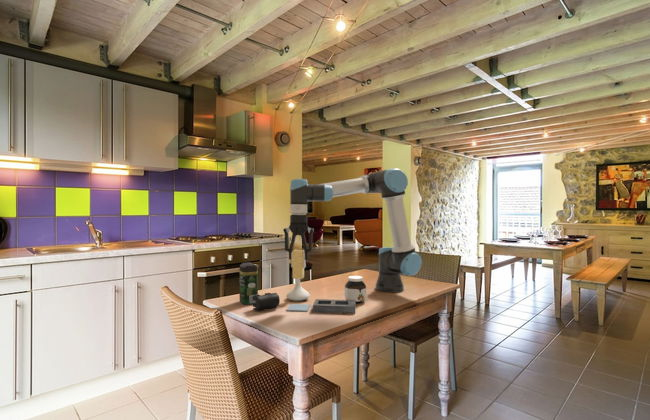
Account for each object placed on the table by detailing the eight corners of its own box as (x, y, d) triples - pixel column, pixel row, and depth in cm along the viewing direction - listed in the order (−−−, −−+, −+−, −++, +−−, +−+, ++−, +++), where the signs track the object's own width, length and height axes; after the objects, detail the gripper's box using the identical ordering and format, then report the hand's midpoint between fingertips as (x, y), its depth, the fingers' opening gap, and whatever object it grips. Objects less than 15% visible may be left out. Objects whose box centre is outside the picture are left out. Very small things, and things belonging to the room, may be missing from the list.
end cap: (259, 313, 146) (259, 297, 146) (251, 310, 151) (251, 294, 151) (279, 309, 153) (279, 293, 152) (271, 305, 158) (271, 290, 158)
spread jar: (347, 304, 160) (348, 279, 160) (340, 298, 171) (340, 274, 171) (372, 302, 163) (372, 278, 163) (363, 296, 174) (363, 273, 174)
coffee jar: (237, 301, 165) (237, 262, 165) (253, 299, 169) (253, 260, 169) (243, 306, 157) (243, 265, 157) (260, 303, 161) (260, 263, 161)
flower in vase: (290, 295, 175) (290, 246, 175) (312, 297, 173) (312, 246, 173) (282, 302, 162) (282, 249, 162) (305, 304, 160) (305, 250, 160)
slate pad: (310, 305, 158) (310, 304, 158) (307, 311, 149) (307, 310, 149) (290, 305, 158) (290, 303, 158) (286, 311, 150) (286, 309, 150)
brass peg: (304, 276, 155) (304, 249, 155) (302, 278, 151) (302, 251, 151) (294, 276, 156) (294, 249, 156) (292, 278, 151) (292, 251, 151)
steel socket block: (355, 306, 156) (355, 300, 156) (355, 313, 146) (355, 306, 146) (315, 305, 158) (315, 299, 158) (312, 312, 148) (312, 305, 148)
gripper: (277, 214, 150) (277, 268, 151) (317, 214, 149) (317, 269, 149) (281, 213, 158) (280, 265, 158) (319, 214, 156) (319, 266, 156)
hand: (298, 267), depth 153 cm, fingers closed on brass peg, 4 cm apart
